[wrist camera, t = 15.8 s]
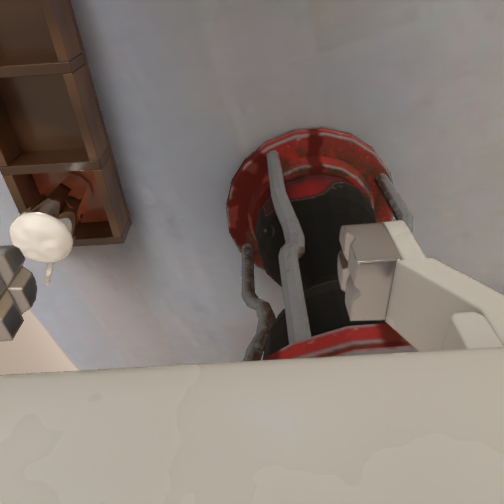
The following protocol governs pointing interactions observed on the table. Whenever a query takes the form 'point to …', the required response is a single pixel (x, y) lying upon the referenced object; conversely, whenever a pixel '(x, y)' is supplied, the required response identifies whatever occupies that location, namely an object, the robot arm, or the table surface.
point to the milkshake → (52, 221)
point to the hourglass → (309, 240)
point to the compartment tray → (54, 117)
